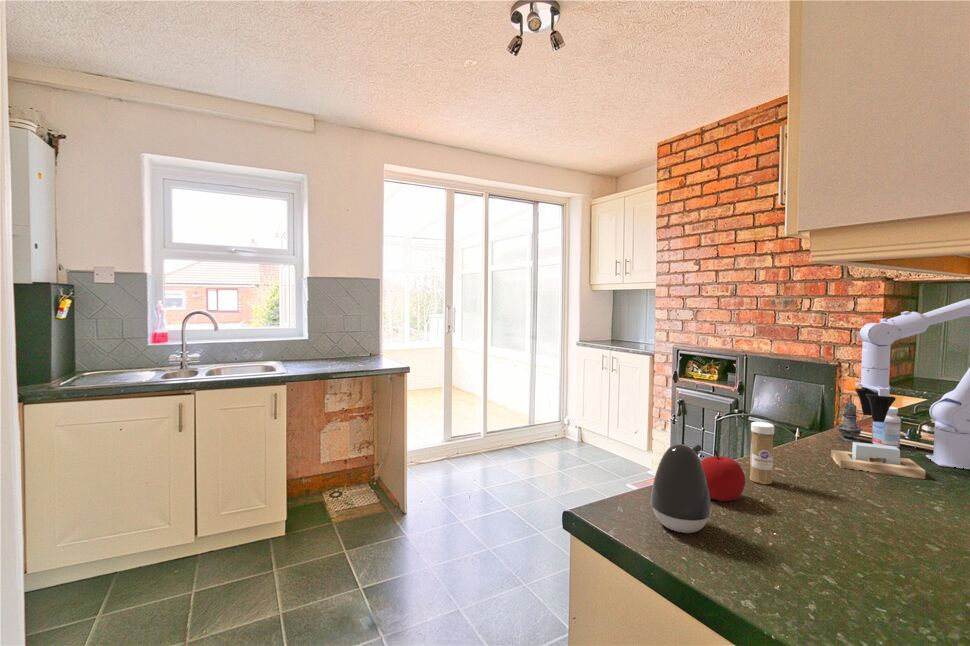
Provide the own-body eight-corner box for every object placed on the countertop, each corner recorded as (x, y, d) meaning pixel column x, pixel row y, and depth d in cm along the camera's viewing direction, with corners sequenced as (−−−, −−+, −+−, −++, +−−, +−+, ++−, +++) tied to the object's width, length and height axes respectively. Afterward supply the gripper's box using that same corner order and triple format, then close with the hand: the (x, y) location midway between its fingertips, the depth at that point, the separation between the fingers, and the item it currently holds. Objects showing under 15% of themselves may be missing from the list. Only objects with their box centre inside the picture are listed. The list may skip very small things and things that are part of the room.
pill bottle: (867, 441, 135) (869, 404, 134) (892, 443, 133) (894, 405, 132) (878, 447, 129) (879, 408, 128) (904, 449, 127) (906, 410, 126)
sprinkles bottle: (756, 485, 102) (758, 426, 101) (745, 477, 106) (747, 420, 106) (777, 485, 102) (779, 426, 101) (764, 477, 106) (766, 421, 106)
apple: (721, 510, 89) (723, 460, 89) (685, 492, 98) (687, 447, 97) (754, 502, 93) (756, 454, 92) (717, 486, 101) (718, 442, 101)
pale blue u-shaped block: (894, 468, 113) (895, 446, 112) (899, 472, 110) (900, 450, 110) (851, 462, 116) (852, 441, 116) (855, 466, 114) (856, 445, 113)
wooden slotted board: (909, 466, 114) (909, 458, 114) (925, 479, 106) (925, 470, 105) (830, 456, 121) (831, 449, 120) (840, 468, 112) (840, 460, 112)
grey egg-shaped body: (723, 531, 81) (726, 448, 80) (686, 546, 76) (688, 457, 75) (675, 508, 90) (676, 433, 89) (638, 520, 85) (640, 441, 84)
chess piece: (866, 442, 133) (868, 402, 132) (846, 442, 133) (848, 402, 133) (851, 436, 139) (852, 398, 138) (831, 436, 139) (833, 398, 138)
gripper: (848, 363, 128) (846, 410, 129) (865, 370, 115) (863, 422, 116) (880, 365, 125) (877, 413, 126) (901, 372, 112) (898, 426, 113)
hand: (873, 418), depth 121 cm, fingers open, 7 cm apart
